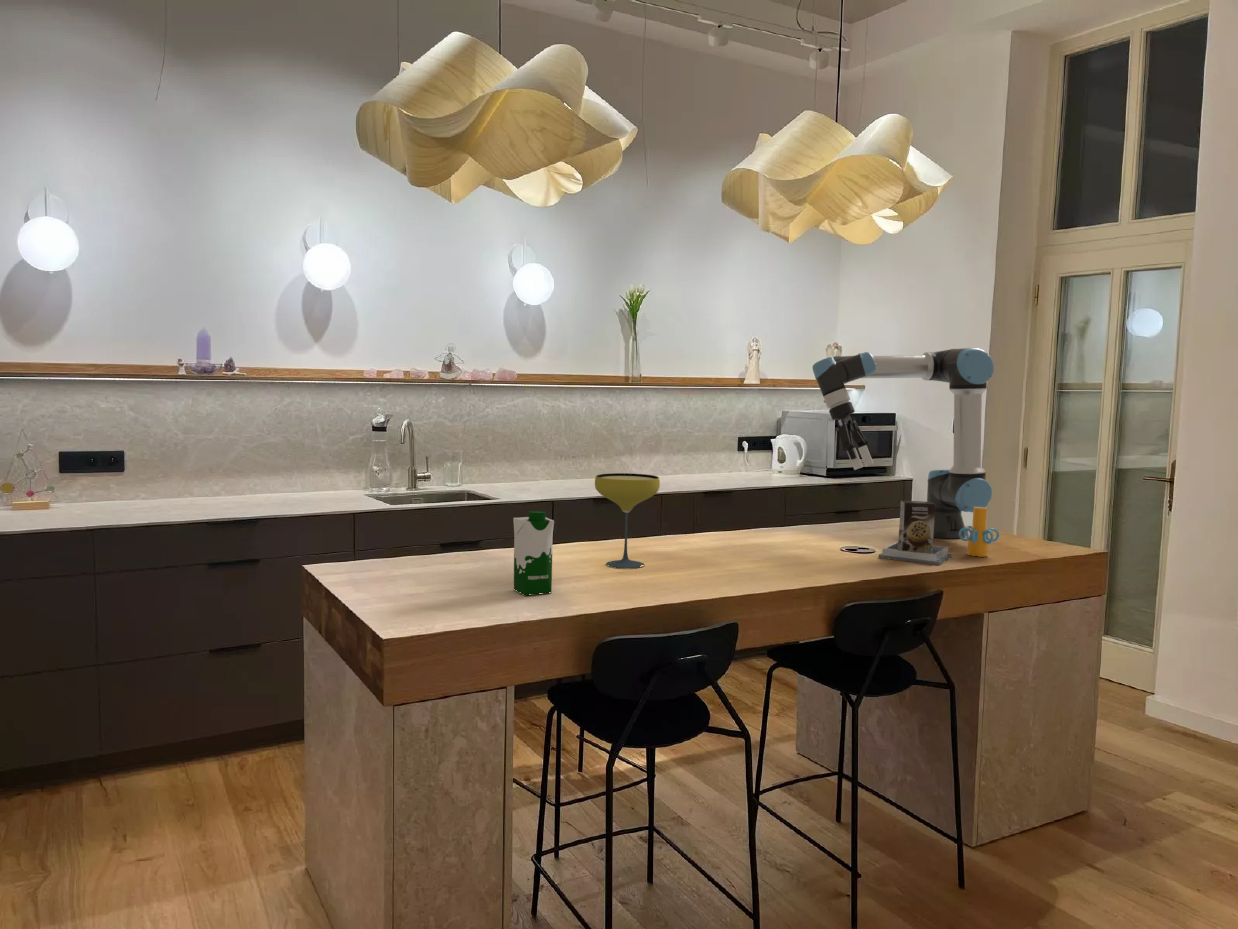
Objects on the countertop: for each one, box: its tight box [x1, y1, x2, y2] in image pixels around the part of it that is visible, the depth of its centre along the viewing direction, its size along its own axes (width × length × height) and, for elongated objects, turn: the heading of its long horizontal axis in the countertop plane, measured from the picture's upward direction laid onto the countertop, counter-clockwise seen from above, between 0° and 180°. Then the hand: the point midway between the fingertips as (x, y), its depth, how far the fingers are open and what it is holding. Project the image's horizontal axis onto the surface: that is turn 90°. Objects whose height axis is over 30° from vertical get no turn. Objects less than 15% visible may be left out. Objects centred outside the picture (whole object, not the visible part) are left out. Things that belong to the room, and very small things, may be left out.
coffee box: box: [897, 500, 935, 554], centre depth 284 cm, size 9×6×16 cm
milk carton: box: [512, 510, 555, 596], centre depth 227 cm, size 9×9×20 cm
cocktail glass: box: [594, 472, 661, 569], centre depth 262 cm, size 18×18×25 cm
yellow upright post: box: [959, 506, 1000, 558], centre depth 290 cm, size 12×10×15 cm
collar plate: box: [877, 541, 952, 566], centre depth 284 cm, size 16×18×3 cm
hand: (864, 467), depth 297 cm, fingers open, 13 cm apart
